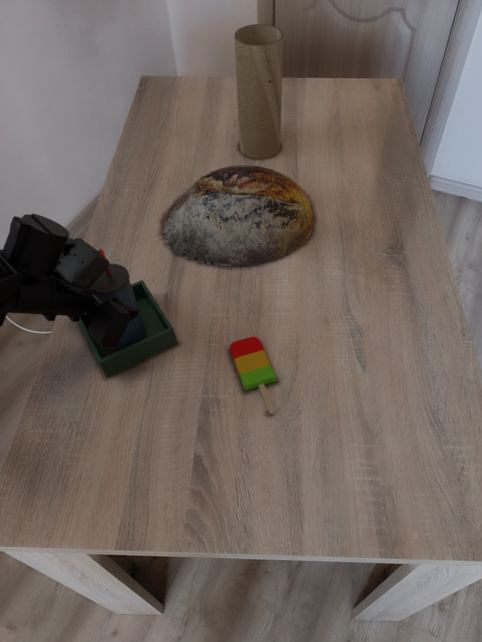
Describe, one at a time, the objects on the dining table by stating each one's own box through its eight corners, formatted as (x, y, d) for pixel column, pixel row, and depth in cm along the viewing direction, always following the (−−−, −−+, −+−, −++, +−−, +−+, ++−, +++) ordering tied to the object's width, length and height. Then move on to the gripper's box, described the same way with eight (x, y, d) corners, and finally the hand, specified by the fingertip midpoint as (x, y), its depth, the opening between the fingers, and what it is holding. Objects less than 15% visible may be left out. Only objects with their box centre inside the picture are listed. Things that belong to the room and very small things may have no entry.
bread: (324, 260, 95) (329, 221, 87) (161, 272, 94) (151, 233, 85) (304, 176, 111) (307, 136, 103) (164, 186, 109) (155, 146, 101)
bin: (106, 377, 80) (99, 363, 76) (80, 324, 86) (72, 308, 83) (177, 344, 84) (173, 328, 80) (147, 295, 90) (142, 279, 87)
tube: (287, 144, 118) (292, 32, 98) (264, 163, 114) (264, 50, 93) (255, 131, 122) (253, 20, 101) (231, 149, 117) (224, 37, 96)
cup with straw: (135, 353, 81) (106, 271, 67) (100, 345, 83) (64, 262, 69) (153, 325, 85) (128, 242, 71) (119, 318, 87) (89, 235, 73)
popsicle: (258, 339, 84) (257, 333, 83) (288, 411, 76) (289, 405, 75) (228, 348, 83) (227, 342, 82) (256, 421, 75) (256, 416, 74)
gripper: (99, 279, 60) (181, 291, 73) (26, 210, 67) (112, 232, 81) (67, 351, 63) (150, 349, 77) (0, 277, 71) (87, 287, 84)
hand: (124, 302), depth 79 cm, fingers closed on cup with straw, 7 cm apart
